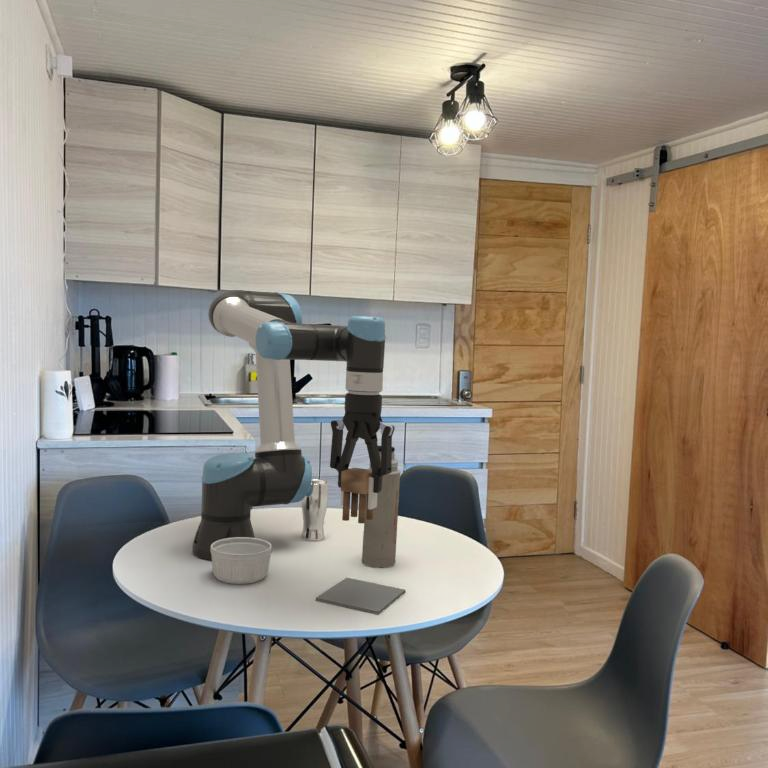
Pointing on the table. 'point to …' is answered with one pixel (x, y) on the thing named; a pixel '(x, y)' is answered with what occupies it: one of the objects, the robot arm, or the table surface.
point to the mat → (361, 595)
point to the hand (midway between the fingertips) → (358, 505)
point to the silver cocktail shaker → (314, 510)
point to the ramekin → (240, 559)
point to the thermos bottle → (383, 522)
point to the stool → (356, 493)
